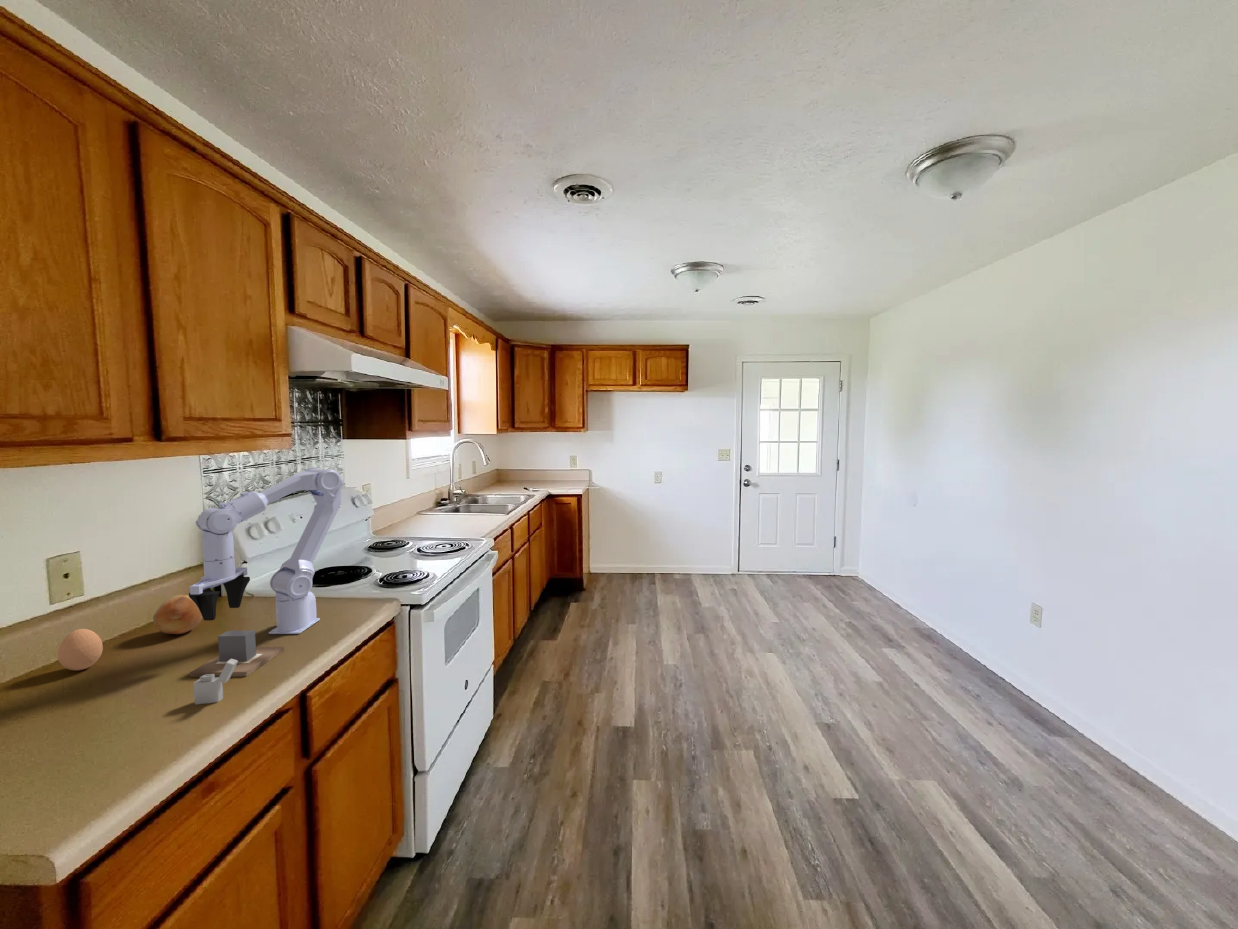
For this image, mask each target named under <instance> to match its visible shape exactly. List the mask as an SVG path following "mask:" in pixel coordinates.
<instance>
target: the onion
mask: <svg viewBox="0 0 1238 929" xmlns="http://www.w3.org/2000/svg"><path fill="white" fill-rule="evenodd" d="M152 618H153V619H152V620H153V621H152V622H153V623H154V625H155V627H156V628H157V629H158V630H159V631H160V632H162V633H165V634H170V635H184V634H185V633H188V632H190V631H191V630H193V629H194V628H195V627H196V626H198V625H199V624H200V623H201V621H202V620H203V617H202V614H201V612H200V610H199V608H198V607H197V605H196V604H195V603H194V601H193V600H192V599H191V598H189V594H180V593H179V594H175V595H174V596H171V597H169V598H168V599H167V600H164V602H162V603H161V605H160V606H159V607H158V608H157V610H156V611H155V612H154V614H153V617H152Z"/></svg>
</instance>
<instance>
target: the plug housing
mask: <svg viewBox="0 0 1238 929" xmlns="http://www.w3.org/2000/svg"><path fill="white" fill-rule="evenodd" d="M217 641H218V656H219V661H220V662H228V661H229V660H230V659H235V660H238V662H247V661H248V660H250V659H251V658H253V657H254V656H256V647H257V642H256V630H254V629H253V630H252V629H251V630H244V629H243V630H227V631H225V632H223V633H221V634H220V635H218V636H217Z"/></svg>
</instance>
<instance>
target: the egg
mask: <svg viewBox="0 0 1238 929" xmlns="http://www.w3.org/2000/svg"><path fill="white" fill-rule="evenodd" d="M103 650H104V646H103V641H102V639H101V637H100V636H99V634H97V633H96V632H94V631H93V630H91V629H87V628H78V629H76V630H73V631H71V632H70V633H69V634H67V635H66V636H65V637H64V638H63V640H62V641H61V644H60V646H59V647H58V650H57V659H58V661H59V663H60V665H61V666H62V667H64V668H65V669H67V670H71V671H82V670H85V669H86V670H87V669H88V668H91V666H93V665H94V664H96V662H98V660H99V659H100V658H101V656H102V653H103Z"/></svg>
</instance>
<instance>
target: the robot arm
mask: <svg viewBox="0 0 1238 929" xmlns="http://www.w3.org/2000/svg"><path fill="white" fill-rule="evenodd" d="M343 485H344V480H343V479H342V477H341V475H340V473H339V472H338V471H336V470H335V469H331V468H329V469H328V468H327V469H324V468H317V467H309V468H307V469H305V470H302V471H299V472H297V473H295V474H293V475H292V476H290V477H288V478H285V479H284V480H282V481H280V482H277V483H276V484H273V485H272V486H270V487H268V488H267V489H265V490H263V491H260V492H257V491H252V490H251V491H249V492H248V491H242V492H240V493H239V496H238V497H235V498H233V499H232V500H229V501H227V502H225V501H224V502H220V503H219V504H218V505H219V506H218V507H209V508H206V509H205V510H203V511H201V513H200V514H199V515H198V516H197V520H195V524H196V526H197V528H198V529H199V530H201V546H202V558H203V571H204V572H203V576H201V577H200V580H199V581H198V582H196V583H194V584H192V585H190V586H189V591H190V592H188V595H189V598H191V599H192V600H193V601H194V603H195V604H196V605H197V607H198V608H199V610H200V612H201V614H202V617H203V618H202V620H203V621H204V622H205V621H206V622H207V621H209V622H210V621H214V620H216V617H217V602H218V599H219V596H220V593H221V591H220V590H219V591H218V590H217V591H216V590H215V591H214V590H213V588H215V587H219V586H220V585H223V587H224V589H225V592H226V596H227V604H228V607H229V608H230V609H239V608H240V607H241V605H242V600H243V596H244V594H245V590H246V588H247V587H248V584H249V583H250V581H251V578H250V576H248V567H244V566H243V567H237V568H236V563H235V562H236V561H235V544H234V531H233V530H235V528H236V527H237V526H238V525H239V524H241V523H243V522H244V521H247V520H249V519H251V518H253V517H255V516H256V515H259V514H261V513H263V512H265V511H266V509H267V507H268V505H269V504H270V503H272V502H275V501H277V500H279V499H281V498H283V497H286V496H288V495H290V494H293V493H296V492H298V491H308V493H310V494H311V496H312V497H313V499H314V501H315V503H316V506H315V507H314V510H313V512H312V514H311V516H310V518H309V520H308V522H307V524H306V525H305V528H304V530H303V532H302V534H301V536H300V538H299V540H298V541H297V544H296V546H295V548H294V550H293V552H292V554H291V556H290V557H289V559H287V560H286V561H284V562H283V563H282V564H281V565H280V567H279V569H278V570H277V571H276V572H274V574H273V575H272V576H271V578H270V580H269V585H270V586H269V587H270V588H271V590H272V591H274V592H275V614H276V616H275V618H276V627H274V628H273V629H272V630H270V631H269V632H268V634H269V635H298V634H301V633H303V632H304V631H305V630H307V629H308V628H310V627H311V626H313V625H314V624H315V623H316V624H317V622H318V621H320V620H321V618H320V617H317V601H316V600H317V599H316V595H315V594H314V593H313V592H312V591H311V589H312V587H313V578H314V575H315V573H316V571H315V569H314V566H313V563H314V561H315V560H316V557H317V555H318V553H319V551H320V549H321V547H322V544H323V542H324V541H325V538H326V536H327V534H328V532H329V529H330V528H331V526H332V523H333V521H334V520H335V518H336V515H337V513H338V511H339V508H340V507H341V504H342V487H343Z"/></svg>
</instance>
